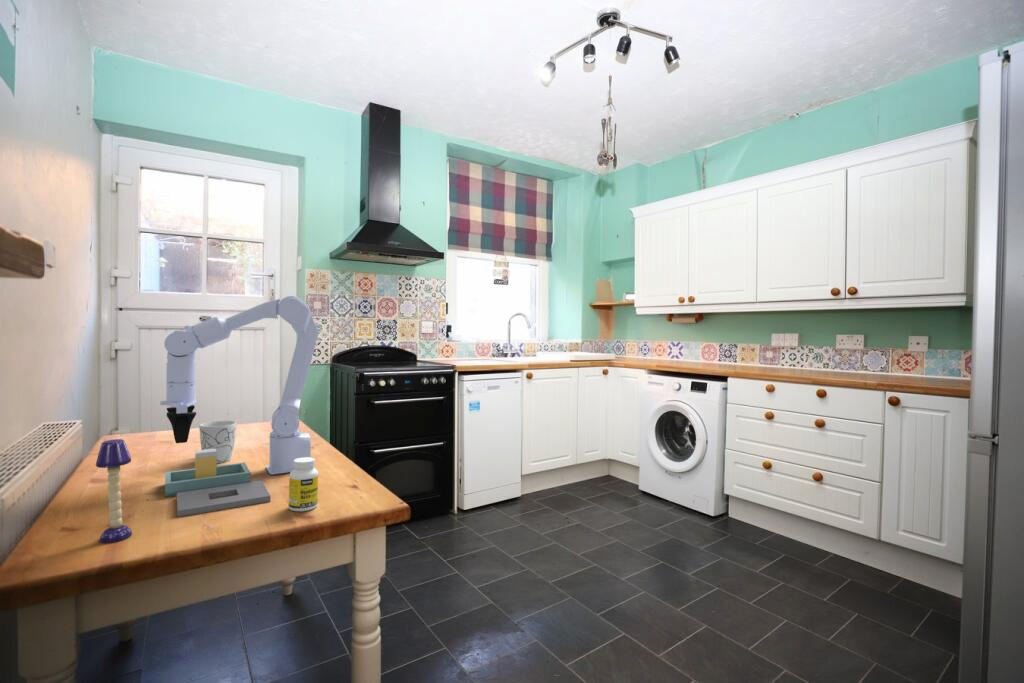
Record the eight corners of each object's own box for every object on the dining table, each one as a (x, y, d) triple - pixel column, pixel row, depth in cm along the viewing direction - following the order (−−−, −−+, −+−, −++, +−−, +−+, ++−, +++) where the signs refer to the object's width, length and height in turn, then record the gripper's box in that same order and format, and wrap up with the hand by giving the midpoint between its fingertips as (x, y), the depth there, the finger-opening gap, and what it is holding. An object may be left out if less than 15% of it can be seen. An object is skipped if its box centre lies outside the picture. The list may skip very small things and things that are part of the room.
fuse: (215, 478, 114) (215, 448, 113) (216, 481, 111) (216, 451, 111) (195, 481, 111) (195, 450, 111) (195, 484, 109) (195, 453, 109)
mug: (188, 459, 132) (188, 422, 131) (221, 453, 139) (221, 418, 138) (208, 466, 125) (208, 428, 125) (241, 460, 132) (242, 423, 132)
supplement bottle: (299, 514, 95) (300, 464, 95) (283, 508, 98) (283, 460, 98) (323, 506, 100) (324, 458, 100) (307, 500, 103) (307, 454, 102)
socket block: (261, 485, 112) (261, 480, 111) (270, 501, 102) (270, 495, 102) (176, 498, 102) (176, 492, 102) (177, 517, 92) (177, 510, 92)
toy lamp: (92, 545, 80) (92, 444, 80) (100, 534, 84) (100, 438, 84) (128, 540, 82) (128, 442, 82) (134, 529, 86) (135, 436, 86)
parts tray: (244, 473, 120) (244, 462, 120) (250, 484, 112) (250, 472, 112) (165, 484, 111) (165, 472, 111) (164, 497, 103) (165, 484, 103)
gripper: (160, 379, 118) (160, 435, 118) (160, 386, 106) (159, 447, 107) (195, 378, 122) (195, 432, 123) (198, 384, 110) (197, 444, 111)
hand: (181, 439), depth 115 cm, fingers open, 7 cm apart
